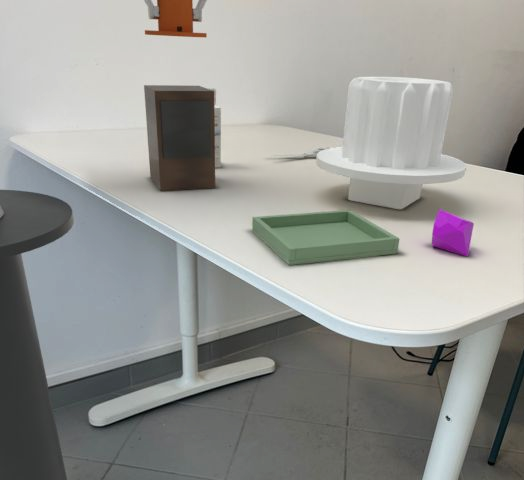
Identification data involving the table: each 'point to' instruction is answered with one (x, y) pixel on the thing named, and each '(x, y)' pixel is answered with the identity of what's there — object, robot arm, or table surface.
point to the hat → (175, 19)
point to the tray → (323, 236)
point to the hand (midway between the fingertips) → (175, 20)
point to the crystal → (452, 233)
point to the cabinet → (180, 136)
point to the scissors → (305, 154)
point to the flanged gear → (393, 140)
